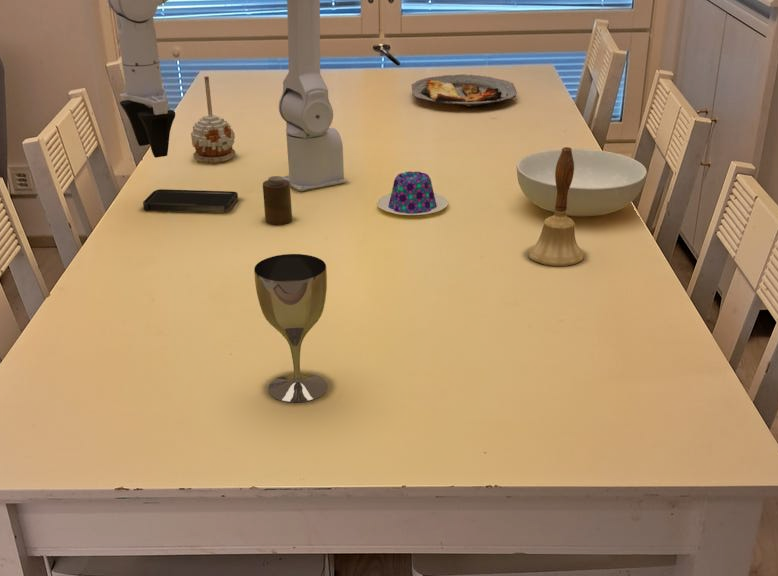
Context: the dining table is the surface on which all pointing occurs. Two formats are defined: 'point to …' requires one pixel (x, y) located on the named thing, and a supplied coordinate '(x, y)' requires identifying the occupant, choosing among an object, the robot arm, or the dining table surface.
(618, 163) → the serving bowl
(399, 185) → the pudding
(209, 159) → the caramel apple
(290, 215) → the salt shaker
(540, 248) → the hand bell
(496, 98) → the food plate
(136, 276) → the dining table surface
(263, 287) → the wine glass
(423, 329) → the dining table surface
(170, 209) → the phone
